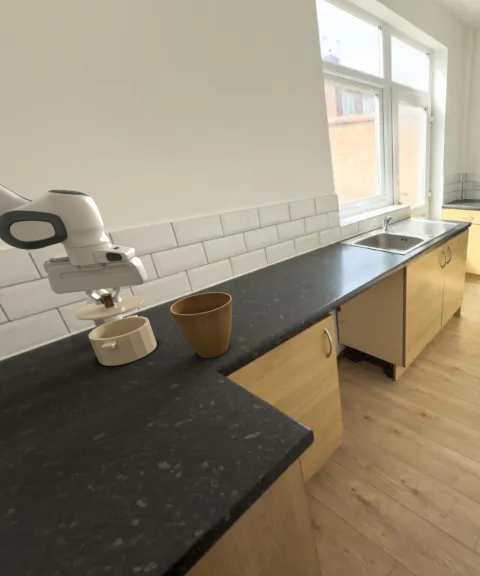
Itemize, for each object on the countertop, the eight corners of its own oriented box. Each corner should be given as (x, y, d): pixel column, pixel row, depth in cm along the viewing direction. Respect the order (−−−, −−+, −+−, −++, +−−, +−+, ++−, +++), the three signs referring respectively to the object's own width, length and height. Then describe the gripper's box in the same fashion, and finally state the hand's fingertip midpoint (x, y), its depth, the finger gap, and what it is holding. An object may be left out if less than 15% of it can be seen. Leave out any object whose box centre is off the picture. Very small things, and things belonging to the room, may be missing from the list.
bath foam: (102, 335, 104) (78, 278, 96) (128, 329, 107) (107, 273, 100) (100, 344, 98) (74, 284, 91) (128, 337, 102) (105, 279, 94)
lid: (64, 326, 80) (56, 309, 78) (91, 303, 93) (85, 288, 91) (133, 316, 84) (128, 300, 83) (150, 296, 97) (146, 281, 96)
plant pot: (183, 372, 84) (165, 319, 78) (188, 345, 97) (173, 297, 91) (243, 357, 90) (231, 306, 84) (241, 334, 102) (230, 288, 96)
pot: (85, 376, 83) (72, 349, 80) (115, 341, 100) (105, 317, 97) (145, 365, 88) (136, 338, 84) (164, 333, 104) (157, 309, 101)
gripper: (32, 262, 77) (55, 313, 82) (132, 253, 83) (148, 301, 88) (48, 255, 82) (68, 304, 87) (140, 247, 88) (155, 293, 94)
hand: (109, 302), depth 88 cm, fingers closed on lid, 2 cm apart
